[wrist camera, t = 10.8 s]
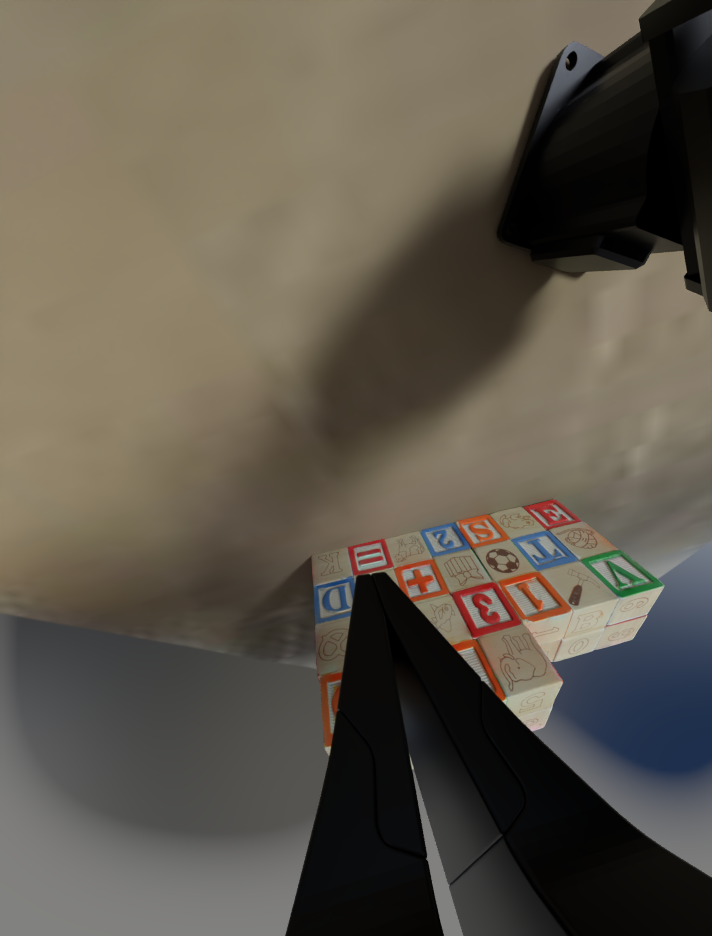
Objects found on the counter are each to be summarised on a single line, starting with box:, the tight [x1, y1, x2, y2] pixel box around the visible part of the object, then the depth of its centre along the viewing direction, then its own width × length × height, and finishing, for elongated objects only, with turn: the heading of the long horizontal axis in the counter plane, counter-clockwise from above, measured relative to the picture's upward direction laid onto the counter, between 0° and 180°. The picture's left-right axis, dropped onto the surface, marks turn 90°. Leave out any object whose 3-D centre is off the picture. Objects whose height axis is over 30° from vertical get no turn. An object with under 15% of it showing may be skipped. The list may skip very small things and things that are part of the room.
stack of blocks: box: [311, 499, 664, 769], centre depth 22 cm, size 21×6×12 cm, turn 98°
